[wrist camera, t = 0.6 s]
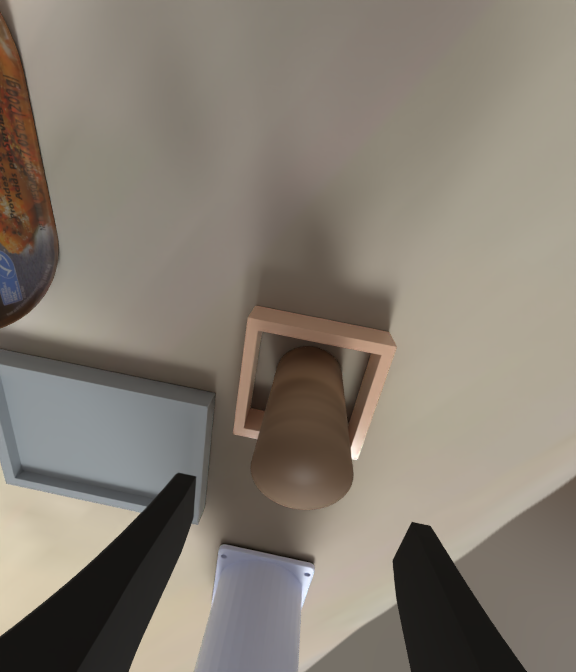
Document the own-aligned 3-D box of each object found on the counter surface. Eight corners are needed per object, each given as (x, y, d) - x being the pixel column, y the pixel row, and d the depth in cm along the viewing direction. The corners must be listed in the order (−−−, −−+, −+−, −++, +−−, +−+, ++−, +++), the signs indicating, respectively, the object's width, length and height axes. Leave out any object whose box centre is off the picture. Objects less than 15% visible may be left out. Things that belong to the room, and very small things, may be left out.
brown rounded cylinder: (333, 409, 20) (339, 518, 13) (271, 396, 20) (245, 498, 13) (349, 353, 18) (365, 444, 11) (281, 340, 18) (257, 422, 11)
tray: (204, 506, 25) (198, 524, 23) (23, 468, 25) (6, 483, 24) (215, 393, 20) (207, 406, 19) (-5, 348, 21) (-28, 358, 19)
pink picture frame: (354, 436, 20) (357, 460, 19) (240, 413, 21) (232, 434, 19) (389, 331, 17) (397, 347, 16) (255, 305, 18) (247, 317, 16)
